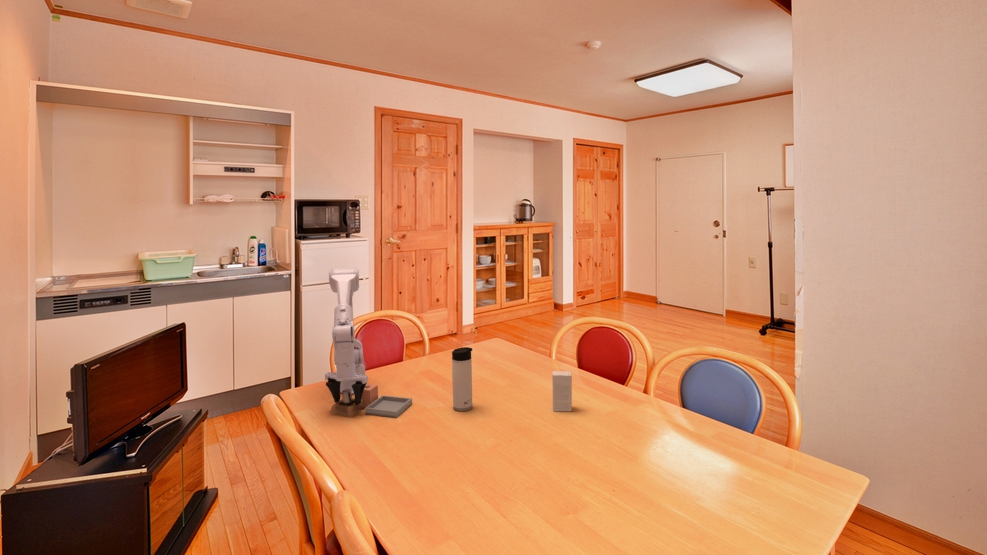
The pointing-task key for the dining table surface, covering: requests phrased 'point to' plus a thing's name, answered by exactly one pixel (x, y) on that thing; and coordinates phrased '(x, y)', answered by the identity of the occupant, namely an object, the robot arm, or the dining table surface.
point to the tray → (388, 406)
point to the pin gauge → (347, 397)
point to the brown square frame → (346, 408)
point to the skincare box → (562, 390)
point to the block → (369, 394)
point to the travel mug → (462, 379)
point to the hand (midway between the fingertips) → (347, 402)
